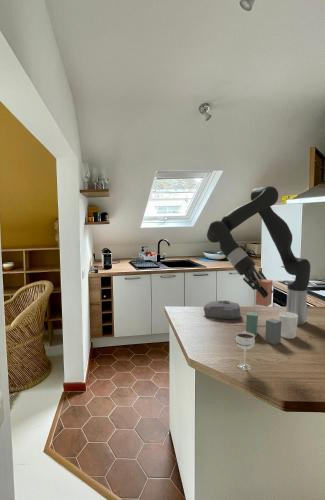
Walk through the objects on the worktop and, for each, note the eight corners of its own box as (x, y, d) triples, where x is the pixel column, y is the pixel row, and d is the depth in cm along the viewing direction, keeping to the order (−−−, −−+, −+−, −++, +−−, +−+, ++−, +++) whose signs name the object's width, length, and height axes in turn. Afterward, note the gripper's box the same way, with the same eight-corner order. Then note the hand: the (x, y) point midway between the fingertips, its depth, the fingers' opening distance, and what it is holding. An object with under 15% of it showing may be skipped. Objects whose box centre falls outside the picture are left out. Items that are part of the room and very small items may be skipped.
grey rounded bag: (238, 312, 172) (203, 310, 175) (239, 298, 171) (203, 296, 174) (241, 321, 157) (202, 319, 160) (241, 305, 156) (203, 304, 159)
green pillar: (247, 331, 143) (248, 311, 142) (257, 332, 141) (258, 313, 140) (245, 334, 139) (246, 314, 138) (256, 336, 137) (256, 316, 136)
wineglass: (251, 373, 104) (252, 340, 103) (232, 368, 108) (233, 336, 107) (256, 365, 110) (257, 333, 109) (238, 360, 114) (239, 330, 112)
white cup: (296, 333, 140) (297, 313, 139) (297, 340, 132) (298, 318, 131) (277, 331, 142) (278, 311, 141) (278, 338, 135) (279, 316, 134)
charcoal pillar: (271, 338, 134) (272, 318, 133) (280, 342, 130) (281, 321, 129) (265, 341, 131) (266, 320, 130) (274, 344, 128) (275, 323, 127)
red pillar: (260, 301, 121) (261, 278, 120) (271, 304, 118) (272, 280, 117) (255, 304, 118) (256, 280, 117) (267, 306, 115) (268, 282, 114)
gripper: (239, 257, 115) (269, 293, 109) (254, 253, 126) (282, 286, 120) (226, 269, 119) (254, 304, 113) (242, 264, 130) (268, 296, 124)
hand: (268, 294), depth 117 cm, fingers closed on red pillar, 4 cm apart
